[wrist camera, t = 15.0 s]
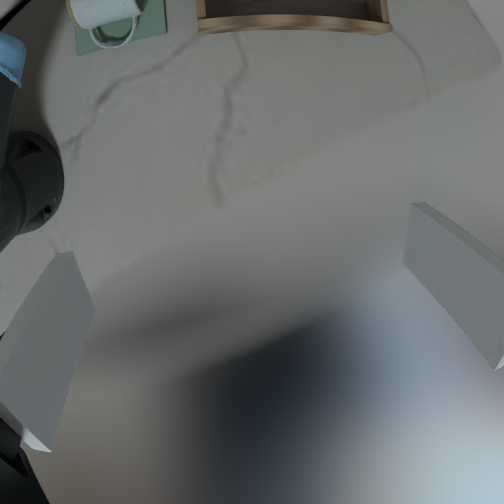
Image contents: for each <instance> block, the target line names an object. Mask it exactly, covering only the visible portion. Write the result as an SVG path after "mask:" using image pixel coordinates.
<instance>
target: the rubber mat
mask: <svg viewBox="0 0 504 504" xmlns="http://www.w3.org/2000/svg"><path fill="white" fill-rule="evenodd" d="M132 25H133V18H131V17H130V18H126V19H122V20H118V21H114V22H110V23H108V24H104V25H101V26H98V27H95V30H96V33H97V35H98V36H99V38H100V39H101V40H103V41H104V42H108V41H119V40H123V39H126V38H127V37H128V36H129V34H130V33H131V30H132ZM162 34H167V28H166V17H165V5H164V0H145V10H144V13H143V14H141V15H138V24H137V29H136V32H135V34H134V35H133V37H132V38H131V39H130V41H134V40H138V39H142V38H147V37H152V36H157V35H162ZM75 37H76V50H77V56H82V55H85V54H88V53H91V52H94V51H97V50H100V49H104V48H103V47H101V46H99V45H97V44H96V43H95V42H94V41H93V39H92V37H91V35H90V30H89V29H81V28H78V27H77V26H75ZM130 41H128V42H130Z"/></svg>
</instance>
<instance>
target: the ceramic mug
mask: <svg viewBox="0 0 504 504" xmlns="http://www.w3.org/2000/svg"><path fill="white" fill-rule="evenodd" d="M66 3H67V9H68V13H69V16H70V18H71V20H72V22H73V23H74V24H75V26H77V27H78V28H81V29H89V30H90V35H91V37H92V39H93V41H94V42H95V43H96V44H97V45H99V46H101V47H103V48H117V47H120V46H123V45H125V44H126V43H127V42H128V41H130V39H131V38H132V37H133V35H134V34H135V32H136V29H137V24H138V15H141V14H143V13H144V10H145V0H66ZM130 17H131V18H133V25H132V30H131V33H130V34H129V36H128V37H127V38H126V39H123V40H119V41H108V42H104V41H103V40H101V39H100V38H99V36H98V35H97V33H96V30H95V27H98V26H101V25H104V24H108V23H110V22H114V21H118V20H122V19H126V18H130Z"/></svg>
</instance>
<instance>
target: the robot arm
mask: <svg viewBox="0 0 504 504" xmlns="http://www.w3.org/2000/svg"><path fill="white" fill-rule="evenodd" d="M26 55H27V52H26V47H25V45H24V44H23V42H21V41H20V40H19V39H17V38H15V37H13V36H11V35H8V34H5V33H2V32H0V252H1V251H2V250H3V249H4V248H5V247H6V246H7V245H8V244H9V243H10V241H11V240H12V239H13V238H14V237H15V236H17V235H20V234H24V233H27V232H31V231H34V230H36V229H38V228H40V227H41V226H43V225H44V224H45V223H46V222H47V221H48V220H49V219H50V218H51V217H52V216H53V215H54V214H55V212H56V211H57V209H58V207H59V205H60V203H61V200H62V196H63V190H64V176H63V170H62V166H61V163H60V160H59V158H58V156H57V154H56V152H55V150H54V149H53V147H52V146H51V145H50V144H49V142H47V141H46V140H45V139H44V138H43V137H41V136H40V135H38V134H36V133H33V132H29V131H18V132H14V133H11V134H10V130H11V125H12V119H13V114H14V109H15V104H16V100H17V96H18V91H19V89H21V85H22V84H21V77H22V72H23V68H24V64H25V60H26ZM402 263H403V264H404V265H405V266H406V267H407V268H408V269H409V270H410V271H411V272H412V273H413V274H414V275H415V277H416V278H417V279H418V280H419V281H420V282H421V283H422V284H423V285H424V286H425V288H427V290H428V291H429V292H430V293H431V294H432V295H433V296H434V298H435V299H436V300H437V301H438V302H439V303H440V304H441V305H442V307H443V308H444V309H445V310H446V311H447V312H448V313H449V315H450V316H451V317H452V318H453V319H454V321H455V322H456V323H457V324H458V325H459V326H460V328H461V329H462V330H463V331H464V333H465V334H466V335H467V336H468V337H469V339H470V340H471V341H472V342H473V344H474V345H475V346H476V347H477V349H478V350H479V351H480V352H481V354H482V355H483V356H484V358H485V359H486V360H487V362H488V363H489V364H490V365H491V367H492V368H493V369H494V371H495V370H497V369H498V368H500V367H502V366H503V365H504V259H503V258H501V257H500V256H499V255H498V254H496V253H495V252H494V251H493V250H491V249H490V248H489V247H487V246H486V245H485V244H484V243H482V242H481V241H480V240H478V239H477V238H476V237H474V236H473V235H472V234H470V233H469V232H468V231H466V230H465V229H463V228H462V227H461V226H459V225H458V224H456V223H455V222H454V221H452V220H451V219H449V218H448V217H446V216H445V215H443V214H442V213H441V212H439V211H438V210H436V209H434V208H433V207H432V206H430V205H429V204H427V203H425V202H422V203H412V204H411V205H410V214H409V222H408V230H407V237H406V243H405V250H404V256H403V262H402ZM95 311H96V308H95V306H94V304H93V301H92V300H91V297H90V294H89V292H88V290H87V287H86V285H85V282H84V280H83V277H82V275H81V272H80V270H79V267H78V265H77V262H76V259H75V257H74V254H73V251H71V252H65V253H60V254H56V255H55V257H54V258H53V260H52V261H51V262H50V264H49V265H48V266H47V268H46V269H45V271H44V272H43V273H42V275H41V276H40V278H39V279H38V281H37V282H36V284H35V285H34V287H33V288H32V290H31V291H30V293H29V294H28V296H27V297H26V299H25V300H24V302H23V303H22V305H21V307H20V308H19V310H18V311H17V313H16V315H15V316H14V318H13V320H12V321H11V323H10V325H9V326H8V328H7V330H6V331H5V332H4V333H3V334H2V335H1V336H0V504H50V503H49V501H48V500H47V498H46V496H45V494H44V492H43V490H42V488H41V486H40V484H39V482H38V480H37V478H36V476H35V474H34V471H33V469H32V467H31V465H30V462H29V460H28V458H27V456H26V454H25V452H24V450H23V449H22V448H21V447H20V443H21V439H22V440H24V441H25V442H26V443H27V444H28V445H29V446H30V447H31V448H33V449H36V450H42V451H47V452H53V447H54V443H55V438H56V434H57V430H58V426H59V422H60V418H61V414H62V411H63V407H64V403H65V400H66V396H67V393H68V389H69V386H70V383H71V379H72V376H73V373H74V370H75V366H76V364H77V361H78V358H79V355H80V352H81V349H82V346H83V343H84V340H85V337H86V335H87V332H88V329H89V326H90V324H91V321H92V318H93V316H94V313H95Z"/></svg>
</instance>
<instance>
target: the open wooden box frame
mask: <svg viewBox="0 0 504 504" xmlns="http://www.w3.org/2000/svg"><path fill="white" fill-rule="evenodd" d="M364 3H365V11H366V19H367V21H366V20H358V19H350V18H341V17H330V16H315V15H245V16H231V17H219V18H210V19H206V9H205V0H196V9H197V19H198V29H199V35H206V34H215V33H224V32H236V31H251V30H322V31H337V32H349V33H359V34H367V35H378V34H383V33H388V32H392V25H391V24H390V23H389V15H388V7H387V0H364Z"/></svg>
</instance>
